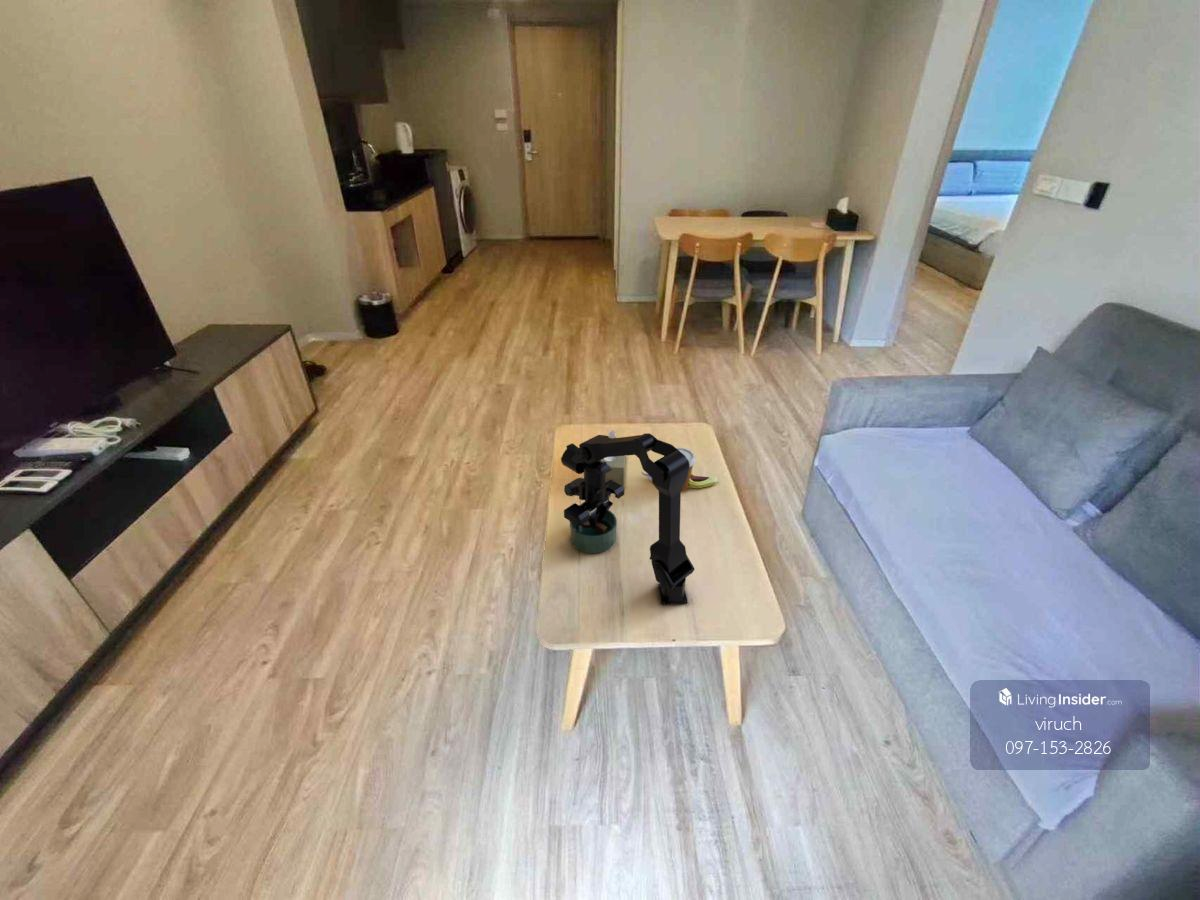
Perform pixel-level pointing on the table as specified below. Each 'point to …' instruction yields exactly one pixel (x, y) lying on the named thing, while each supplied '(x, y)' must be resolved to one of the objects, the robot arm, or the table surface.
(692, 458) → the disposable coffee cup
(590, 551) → the bucket
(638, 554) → the table surface
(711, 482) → the yellow curved piece
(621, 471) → the tissue box
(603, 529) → the spoon
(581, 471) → the robot arm
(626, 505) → the table surface
